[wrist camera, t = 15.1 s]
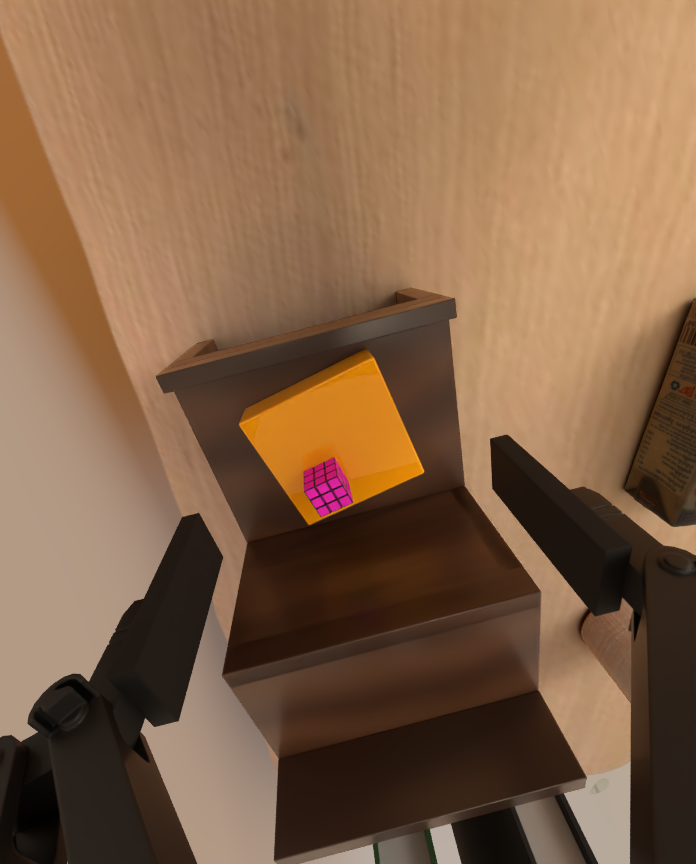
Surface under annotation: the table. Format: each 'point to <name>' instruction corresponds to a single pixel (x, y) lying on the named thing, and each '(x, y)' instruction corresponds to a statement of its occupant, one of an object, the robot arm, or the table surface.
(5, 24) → the table surface
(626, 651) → the planter
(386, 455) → the orange slab
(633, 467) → the beverage carton
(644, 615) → the robot arm
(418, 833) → the books
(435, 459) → the step shelf
